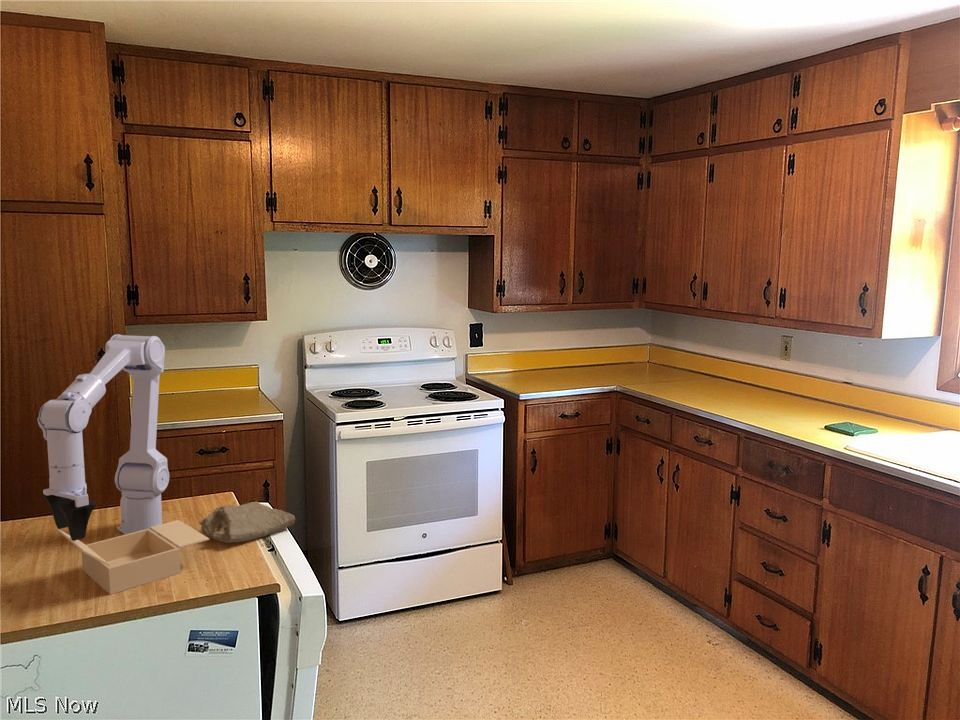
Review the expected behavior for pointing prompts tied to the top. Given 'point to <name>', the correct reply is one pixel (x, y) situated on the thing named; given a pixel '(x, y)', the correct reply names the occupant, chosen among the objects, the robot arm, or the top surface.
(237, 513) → the artifact
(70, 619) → the top surface
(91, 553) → the cardboard box flap
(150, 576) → the carton
